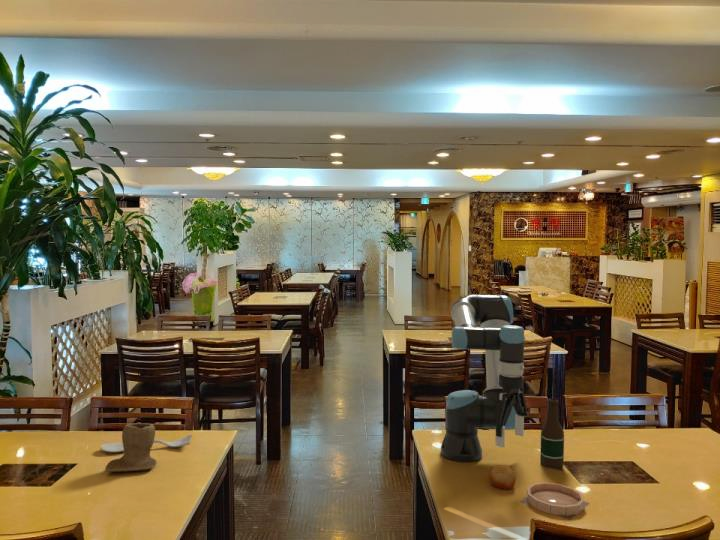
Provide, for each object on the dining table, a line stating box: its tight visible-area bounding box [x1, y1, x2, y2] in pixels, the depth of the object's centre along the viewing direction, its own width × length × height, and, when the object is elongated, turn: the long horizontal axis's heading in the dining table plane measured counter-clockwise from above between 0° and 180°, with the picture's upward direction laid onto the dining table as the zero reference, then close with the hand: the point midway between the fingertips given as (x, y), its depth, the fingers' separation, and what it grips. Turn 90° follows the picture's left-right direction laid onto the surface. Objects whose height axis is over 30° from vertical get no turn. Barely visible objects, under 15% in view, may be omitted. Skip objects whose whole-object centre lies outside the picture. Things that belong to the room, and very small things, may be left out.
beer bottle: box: [539, 398, 565, 472], centre depth 183 cm, size 8×8×24 cm
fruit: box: [488, 464, 516, 491], centre depth 166 cm, size 8×8×8 cm
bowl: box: [526, 481, 585, 516], centre depth 155 cm, size 16×16×2 cm
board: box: [520, 496, 590, 520], centre depth 155 cm, size 15×14×1 cm
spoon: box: [100, 434, 193, 454], centre depth 196 cm, size 9×32×4 cm, turn 103°
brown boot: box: [104, 422, 157, 473], centre depth 178 cm, size 15×12×15 cm
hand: (509, 440), depth 166 cm, fingers open, 13 cm apart
